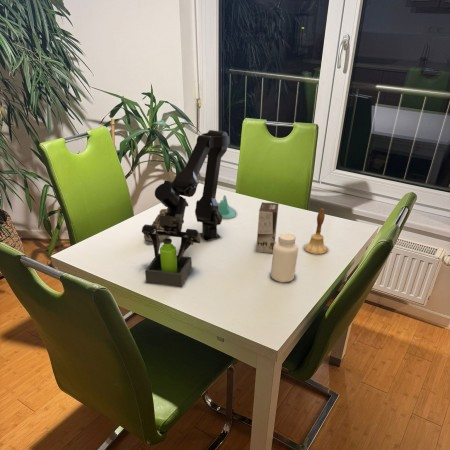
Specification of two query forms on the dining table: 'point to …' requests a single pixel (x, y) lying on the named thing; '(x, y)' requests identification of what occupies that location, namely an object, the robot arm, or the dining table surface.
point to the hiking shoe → (156, 223)
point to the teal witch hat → (225, 209)
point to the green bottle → (168, 256)
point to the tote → (168, 278)
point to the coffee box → (267, 227)
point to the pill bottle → (284, 258)
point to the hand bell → (317, 237)
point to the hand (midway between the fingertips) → (167, 258)
